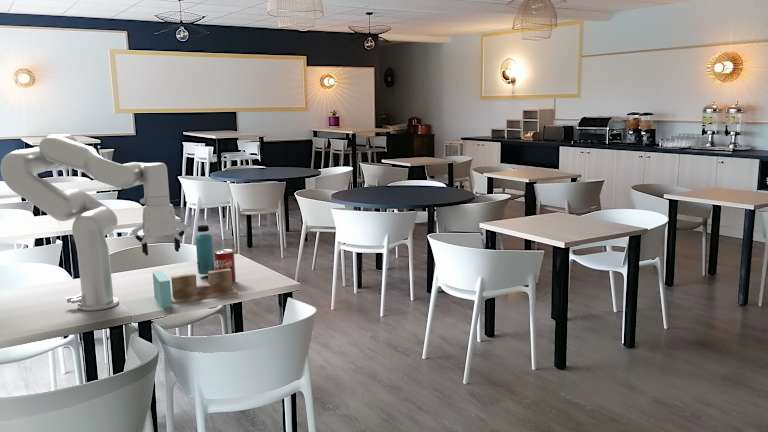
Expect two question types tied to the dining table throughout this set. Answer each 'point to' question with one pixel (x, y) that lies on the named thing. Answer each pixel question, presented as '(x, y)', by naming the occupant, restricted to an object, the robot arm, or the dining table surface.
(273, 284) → the dining table surface
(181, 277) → the walnut slotted stand
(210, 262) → the beverage bottle
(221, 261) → the soda can
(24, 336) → the dining table surface
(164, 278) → the teal rectangular block
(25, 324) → the dining table surface
